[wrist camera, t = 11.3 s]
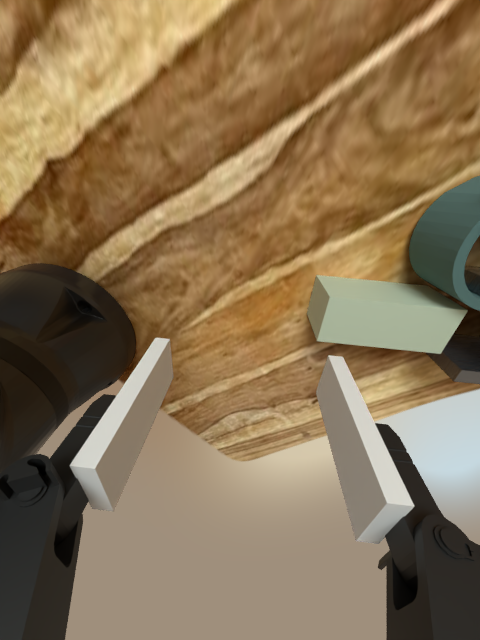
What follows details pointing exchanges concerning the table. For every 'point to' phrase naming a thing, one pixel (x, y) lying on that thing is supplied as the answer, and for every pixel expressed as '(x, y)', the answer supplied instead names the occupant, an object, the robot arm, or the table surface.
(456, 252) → the bracket
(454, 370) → the endcap
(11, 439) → the robot arm
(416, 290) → the block
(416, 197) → the table surface
